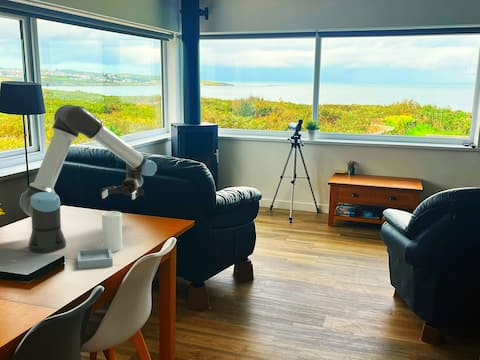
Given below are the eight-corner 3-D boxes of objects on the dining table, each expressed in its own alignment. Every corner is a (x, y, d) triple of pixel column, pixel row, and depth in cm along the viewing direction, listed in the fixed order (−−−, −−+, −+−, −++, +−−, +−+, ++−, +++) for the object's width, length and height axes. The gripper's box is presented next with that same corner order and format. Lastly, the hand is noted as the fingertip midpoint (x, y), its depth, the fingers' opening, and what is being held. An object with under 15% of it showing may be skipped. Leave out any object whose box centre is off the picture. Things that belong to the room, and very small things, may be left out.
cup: (114, 244, 210) (114, 210, 207) (126, 248, 205) (125, 213, 202) (99, 248, 204) (98, 213, 201) (110, 253, 198) (109, 217, 195)
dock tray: (78, 268, 180) (77, 261, 180) (77, 257, 192) (77, 250, 192) (112, 265, 185) (112, 258, 184) (110, 254, 197) (110, 247, 196)
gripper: (154, 194, 231) (145, 204, 210) (104, 193, 231) (90, 203, 210) (154, 179, 230) (145, 188, 209) (104, 178, 230) (90, 187, 209)
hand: (117, 196), depth 210 cm, fingers open, 13 cm apart
